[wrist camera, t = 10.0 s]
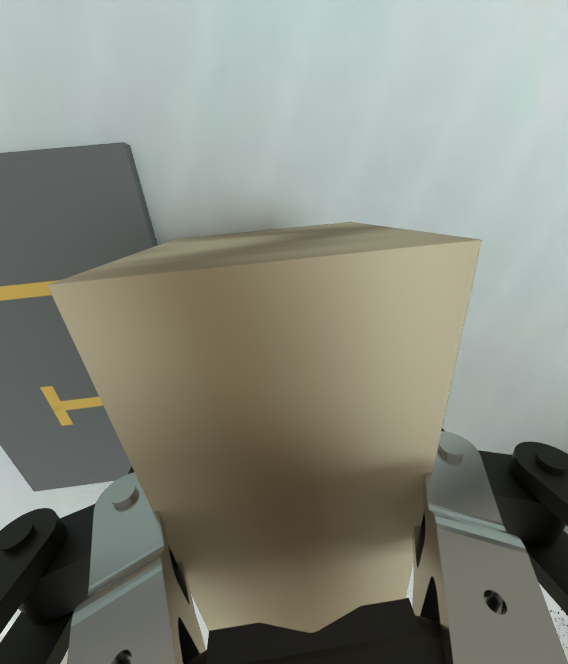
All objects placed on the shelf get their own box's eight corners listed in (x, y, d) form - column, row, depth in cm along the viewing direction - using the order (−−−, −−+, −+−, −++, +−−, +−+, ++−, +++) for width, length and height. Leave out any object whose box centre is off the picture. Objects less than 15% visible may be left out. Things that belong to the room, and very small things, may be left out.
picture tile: (129, 145, 12) (123, 142, 12) (216, 460, 20) (214, 467, 20) (-177, 172, 12) (-199, 170, 11) (40, 483, 20) (33, 491, 19)
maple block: (350, 221, 9) (481, 240, 4) (346, 464, 14) (400, 620, 9) (174, 239, 9) (47, 285, 4) (233, 480, 14) (218, 651, 9)
